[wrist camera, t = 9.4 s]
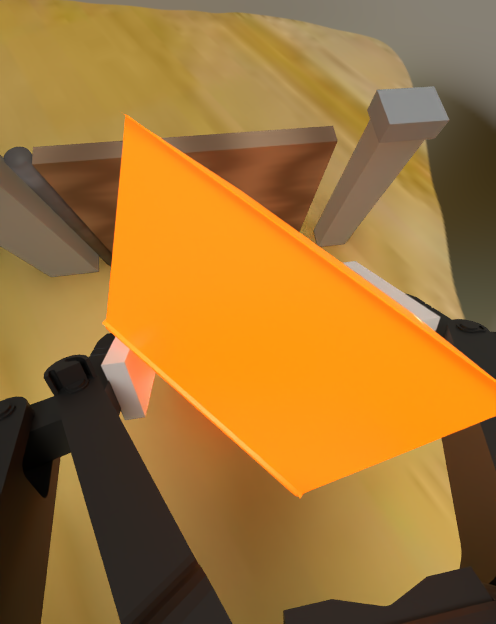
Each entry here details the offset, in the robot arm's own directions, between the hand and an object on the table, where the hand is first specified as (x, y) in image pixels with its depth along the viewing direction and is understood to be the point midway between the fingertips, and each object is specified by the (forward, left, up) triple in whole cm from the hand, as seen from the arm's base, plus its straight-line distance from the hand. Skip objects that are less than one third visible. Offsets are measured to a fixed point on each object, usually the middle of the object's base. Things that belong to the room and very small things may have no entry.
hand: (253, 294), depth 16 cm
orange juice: (0, -3, -9) cm, 10 cm away
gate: (-3, +10, -10) cm, 14 cm away
